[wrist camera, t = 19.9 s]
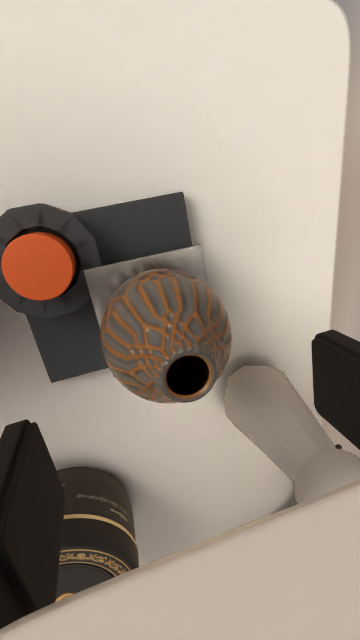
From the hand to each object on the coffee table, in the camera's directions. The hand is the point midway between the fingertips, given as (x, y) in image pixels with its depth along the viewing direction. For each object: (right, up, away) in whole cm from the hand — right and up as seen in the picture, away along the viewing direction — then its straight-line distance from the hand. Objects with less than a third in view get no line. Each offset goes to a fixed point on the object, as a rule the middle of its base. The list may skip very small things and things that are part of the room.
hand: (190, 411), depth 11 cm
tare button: (-8, +6, +9) cm, 14 cm away
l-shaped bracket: (-5, +5, +13) cm, 15 cm away
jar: (-10, -13, +18) cm, 24 cm away
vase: (-2, +3, +11) cm, 11 cm away
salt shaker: (+5, -3, +18) cm, 19 cm away
